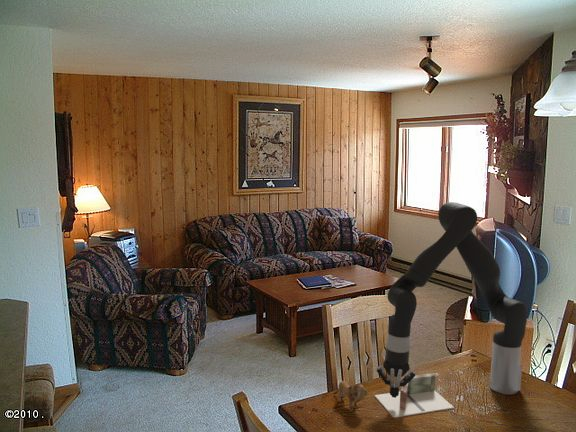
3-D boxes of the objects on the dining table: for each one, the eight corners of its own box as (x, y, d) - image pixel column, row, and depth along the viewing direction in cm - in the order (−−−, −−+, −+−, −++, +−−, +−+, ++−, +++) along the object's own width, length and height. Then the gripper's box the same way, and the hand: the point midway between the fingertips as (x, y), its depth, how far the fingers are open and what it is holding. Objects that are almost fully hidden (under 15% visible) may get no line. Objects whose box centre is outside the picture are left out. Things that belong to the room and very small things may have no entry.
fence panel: (403, 394, 171) (403, 379, 170) (408, 395, 170) (409, 380, 170) (399, 408, 162) (400, 392, 161) (405, 409, 161) (405, 393, 160)
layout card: (430, 388, 177) (431, 386, 177) (454, 408, 164) (454, 406, 164) (374, 396, 171) (374, 394, 171) (393, 417, 158) (393, 416, 158)
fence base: (431, 388, 176) (432, 371, 175) (434, 391, 174) (435, 374, 173) (402, 392, 173) (403, 375, 172) (405, 395, 171) (405, 378, 170)
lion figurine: (369, 410, 162) (370, 385, 161) (358, 416, 159) (359, 390, 157) (338, 392, 173) (339, 368, 172) (327, 397, 170) (328, 372, 169)
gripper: (417, 344, 164) (413, 393, 166) (377, 340, 166) (373, 388, 169) (419, 353, 156) (415, 404, 159) (377, 349, 159) (373, 399, 161)
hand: (393, 396), depth 164 cm, fingers closed
